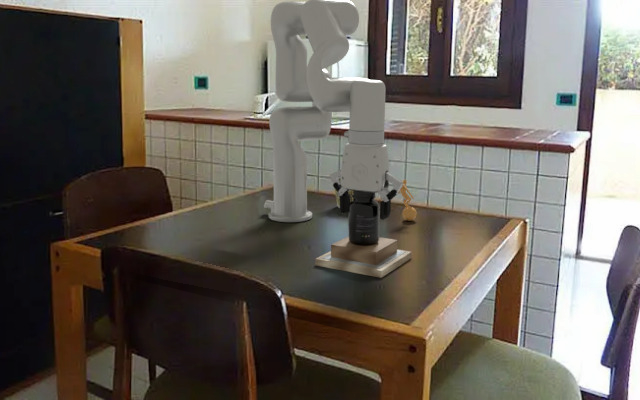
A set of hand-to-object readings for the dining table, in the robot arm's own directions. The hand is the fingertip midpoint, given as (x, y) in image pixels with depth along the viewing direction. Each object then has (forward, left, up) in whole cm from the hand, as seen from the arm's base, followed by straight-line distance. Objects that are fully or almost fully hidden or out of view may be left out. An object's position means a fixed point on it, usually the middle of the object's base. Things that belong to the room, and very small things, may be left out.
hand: (364, 215), depth 139 cm
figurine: (-7, +40, -11) cm, 42 cm away
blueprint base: (0, 0, -11) cm, 11 cm away
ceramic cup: (-28, +47, -11) cm, 55 cm away
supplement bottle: (0, 0, -6) cm, 6 cm away
